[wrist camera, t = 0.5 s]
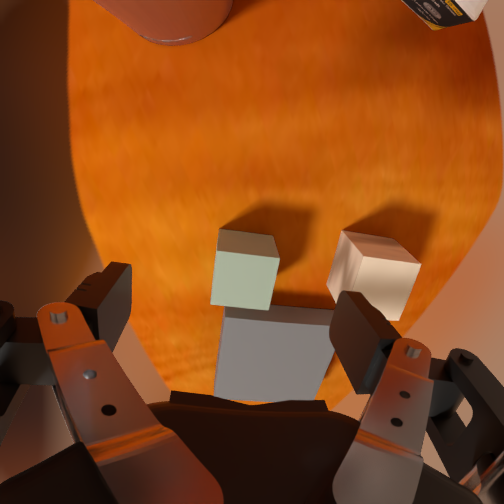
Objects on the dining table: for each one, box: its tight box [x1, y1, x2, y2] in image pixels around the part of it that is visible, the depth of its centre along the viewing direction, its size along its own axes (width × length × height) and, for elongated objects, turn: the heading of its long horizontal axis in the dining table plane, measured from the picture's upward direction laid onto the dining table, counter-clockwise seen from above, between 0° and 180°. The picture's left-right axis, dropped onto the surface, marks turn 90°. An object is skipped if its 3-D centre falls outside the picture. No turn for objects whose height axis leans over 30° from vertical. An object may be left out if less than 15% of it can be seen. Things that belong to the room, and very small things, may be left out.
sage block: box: [210, 229, 280, 310], centre depth 29 cm, size 5×5×5 cm
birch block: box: [326, 230, 421, 321], centre depth 29 cm, size 6×6×6 cm
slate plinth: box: [214, 305, 335, 402], centre depth 35 cm, size 12×12×3 cm
